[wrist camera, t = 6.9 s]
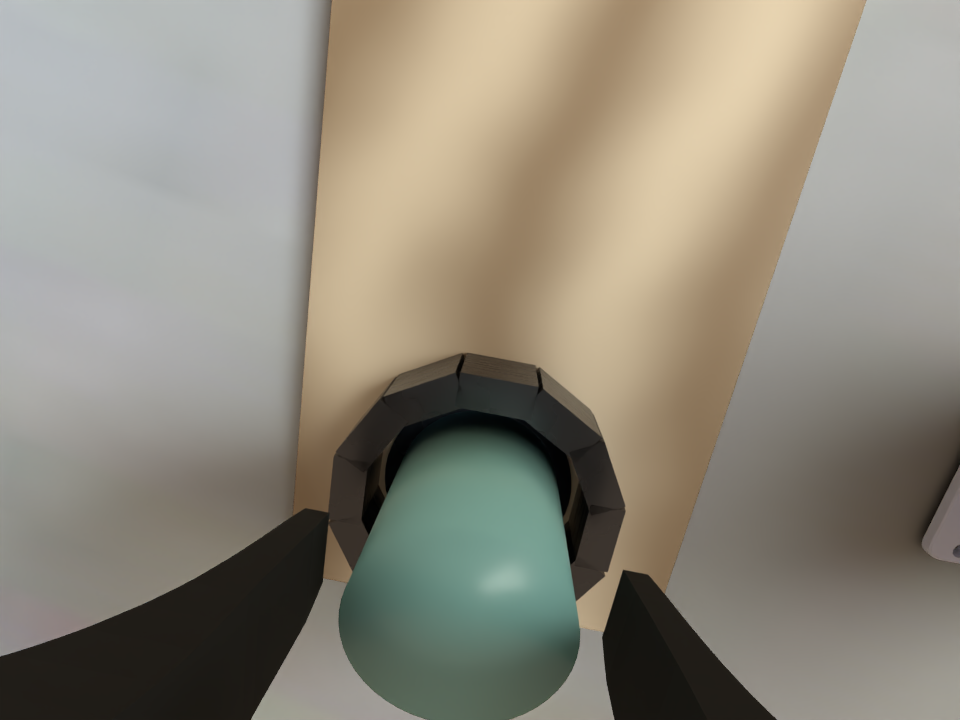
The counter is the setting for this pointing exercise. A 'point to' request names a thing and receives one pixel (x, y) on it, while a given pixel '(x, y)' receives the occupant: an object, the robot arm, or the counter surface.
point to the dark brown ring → (495, 392)
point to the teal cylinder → (465, 577)
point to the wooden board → (562, 219)
